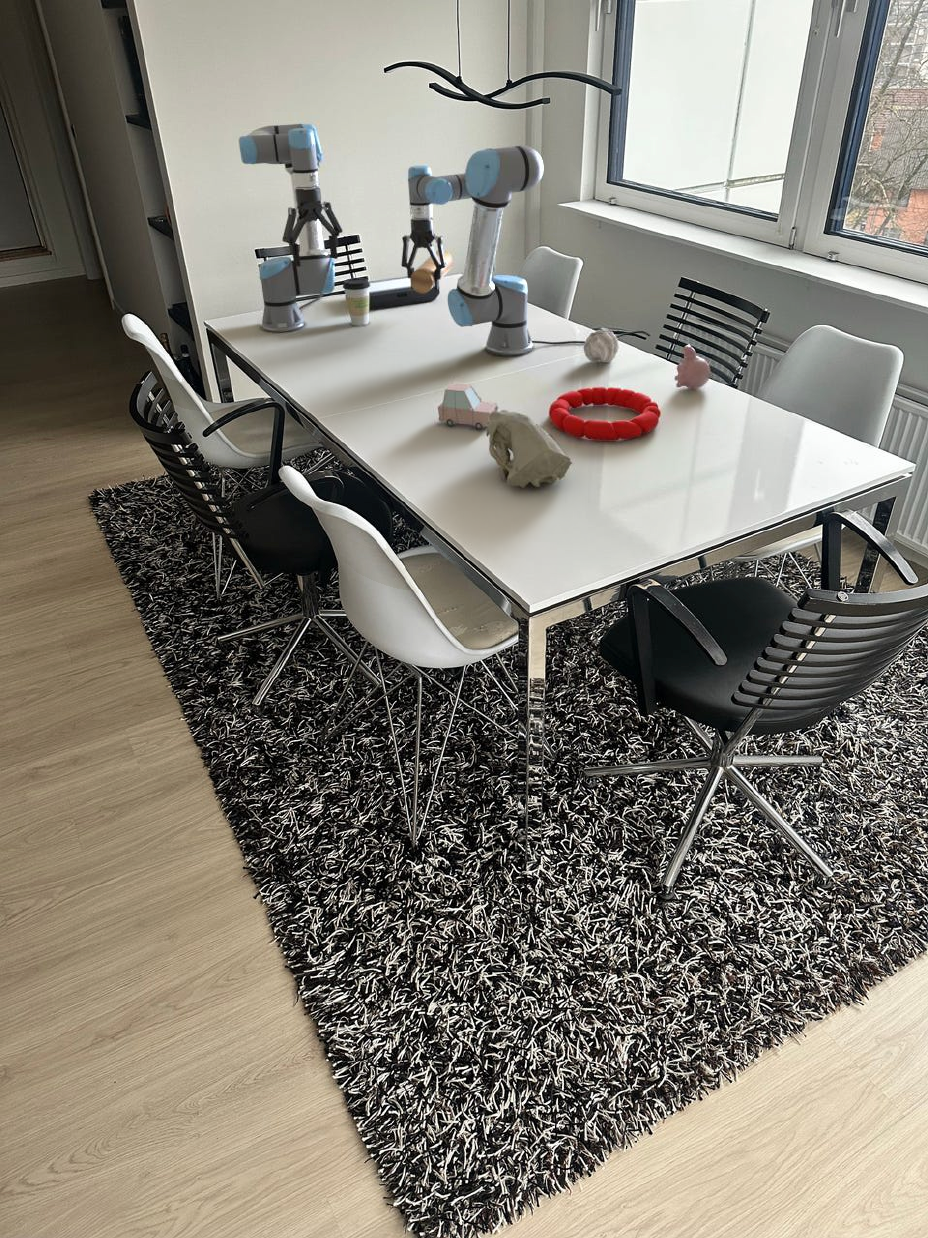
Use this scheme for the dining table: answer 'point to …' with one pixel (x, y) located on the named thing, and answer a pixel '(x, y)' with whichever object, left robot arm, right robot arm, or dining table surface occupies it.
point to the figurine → (692, 370)
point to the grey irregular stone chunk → (525, 450)
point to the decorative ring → (604, 428)
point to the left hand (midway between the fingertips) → (316, 261)
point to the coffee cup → (357, 300)
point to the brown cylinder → (428, 274)
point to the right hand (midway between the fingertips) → (425, 288)
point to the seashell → (601, 346)
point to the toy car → (465, 406)
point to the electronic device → (396, 293)
